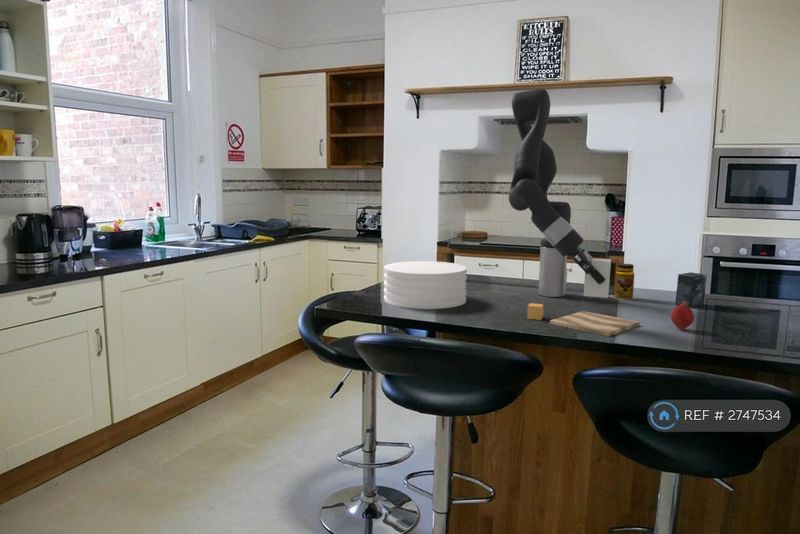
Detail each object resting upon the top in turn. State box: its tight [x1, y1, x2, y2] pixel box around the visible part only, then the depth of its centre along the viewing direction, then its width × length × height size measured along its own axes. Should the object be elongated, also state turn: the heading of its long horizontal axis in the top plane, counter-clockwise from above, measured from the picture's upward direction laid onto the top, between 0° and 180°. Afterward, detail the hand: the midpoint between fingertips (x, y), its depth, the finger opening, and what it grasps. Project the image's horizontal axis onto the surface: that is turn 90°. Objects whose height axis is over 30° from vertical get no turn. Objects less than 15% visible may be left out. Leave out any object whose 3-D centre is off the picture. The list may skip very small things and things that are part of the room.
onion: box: [670, 302, 695, 331], centre depth 162 cm, size 6×6×8 cm
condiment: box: [608, 263, 639, 301], centre depth 205 cm, size 7×8×12 cm
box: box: [675, 271, 708, 309], centre depth 193 cm, size 8×6×11 cm
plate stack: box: [383, 260, 468, 310], centre depth 198 cm, size 28×28×12 cm
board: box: [549, 310, 641, 337], centre depth 167 cm, size 18×18×1 cm
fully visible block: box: [526, 302, 544, 321], centre depth 174 cm, size 4×4×4 cm
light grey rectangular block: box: [583, 258, 612, 299], centre depth 165 cm, size 6×6×10 cm
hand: (603, 280), depth 164 cm, fingers closed on light grey rectangular block, 6 cm apart
